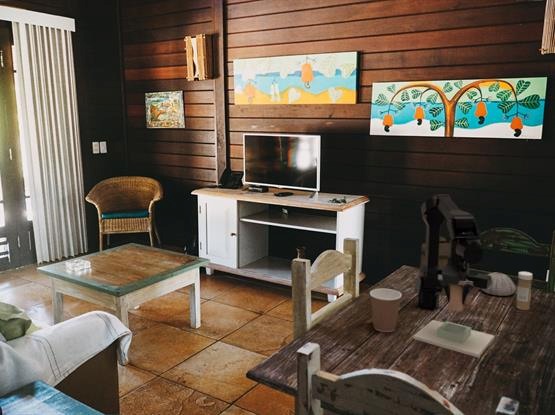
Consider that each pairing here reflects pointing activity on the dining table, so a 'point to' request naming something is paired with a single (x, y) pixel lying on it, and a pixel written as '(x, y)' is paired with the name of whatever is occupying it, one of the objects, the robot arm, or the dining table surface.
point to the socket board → (454, 337)
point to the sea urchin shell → (500, 285)
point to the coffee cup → (385, 308)
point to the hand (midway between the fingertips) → (456, 302)
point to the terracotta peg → (456, 297)
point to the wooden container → (443, 256)
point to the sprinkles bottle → (524, 290)
